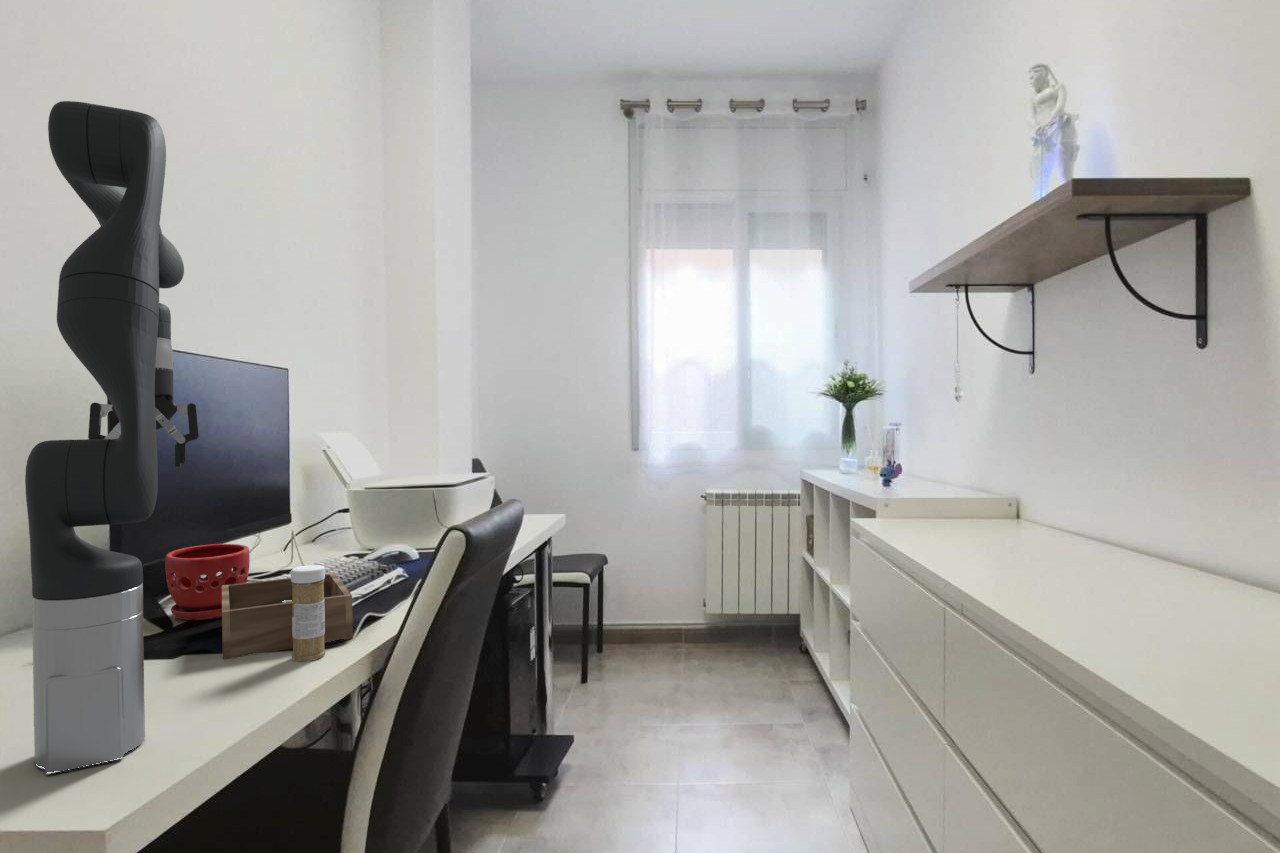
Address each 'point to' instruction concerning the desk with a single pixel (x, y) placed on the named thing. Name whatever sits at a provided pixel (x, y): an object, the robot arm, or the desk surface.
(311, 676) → the desk surface
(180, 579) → the plant pot
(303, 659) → the sprinkles bottle
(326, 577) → the wooden box
